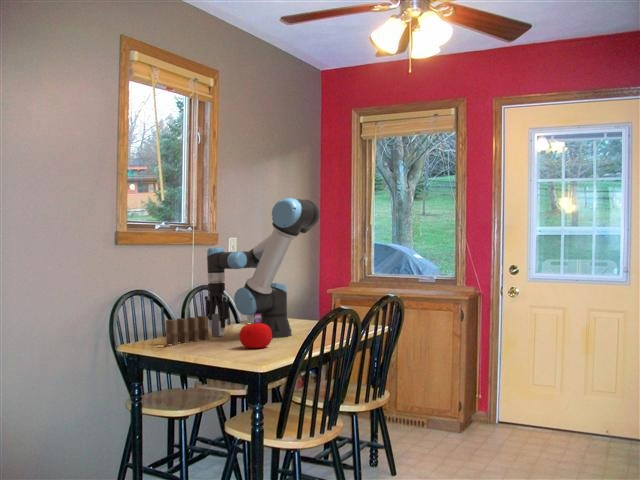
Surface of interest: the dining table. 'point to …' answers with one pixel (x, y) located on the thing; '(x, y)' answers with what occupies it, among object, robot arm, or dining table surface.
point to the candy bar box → (254, 318)
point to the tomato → (255, 335)
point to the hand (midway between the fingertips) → (217, 334)
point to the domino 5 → (215, 325)
